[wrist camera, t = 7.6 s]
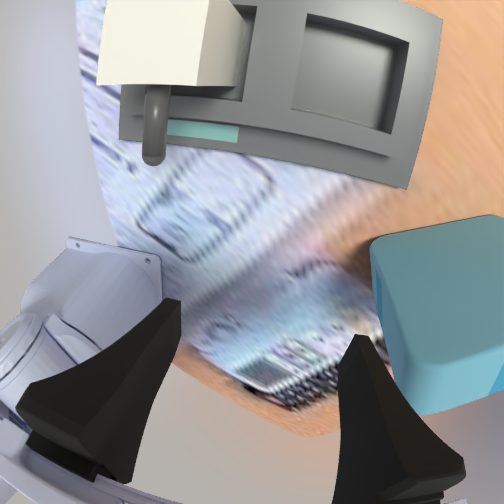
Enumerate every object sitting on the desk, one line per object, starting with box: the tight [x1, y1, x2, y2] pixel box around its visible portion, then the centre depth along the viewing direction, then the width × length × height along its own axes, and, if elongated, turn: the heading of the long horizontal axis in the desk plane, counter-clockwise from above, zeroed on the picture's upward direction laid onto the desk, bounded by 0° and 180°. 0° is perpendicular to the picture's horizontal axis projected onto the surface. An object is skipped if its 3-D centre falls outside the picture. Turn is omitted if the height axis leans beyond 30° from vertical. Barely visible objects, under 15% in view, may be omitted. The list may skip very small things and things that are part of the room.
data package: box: [369, 215, 504, 415], centre depth 15 cm, size 12×4×12 cm, turn 106°
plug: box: [96, 0, 247, 166], centre depth 12 cm, size 4×8×8 cm, turn 172°
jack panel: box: [119, 0, 443, 190], centre depth 14 cm, size 19×12×3 cm, turn 82°
